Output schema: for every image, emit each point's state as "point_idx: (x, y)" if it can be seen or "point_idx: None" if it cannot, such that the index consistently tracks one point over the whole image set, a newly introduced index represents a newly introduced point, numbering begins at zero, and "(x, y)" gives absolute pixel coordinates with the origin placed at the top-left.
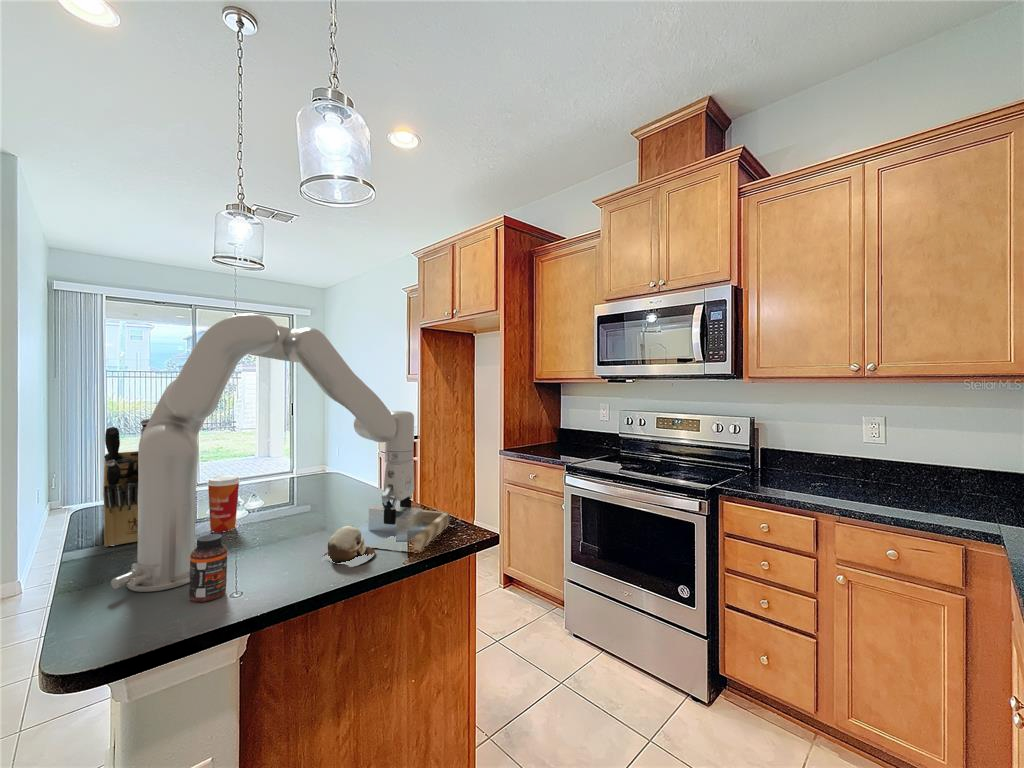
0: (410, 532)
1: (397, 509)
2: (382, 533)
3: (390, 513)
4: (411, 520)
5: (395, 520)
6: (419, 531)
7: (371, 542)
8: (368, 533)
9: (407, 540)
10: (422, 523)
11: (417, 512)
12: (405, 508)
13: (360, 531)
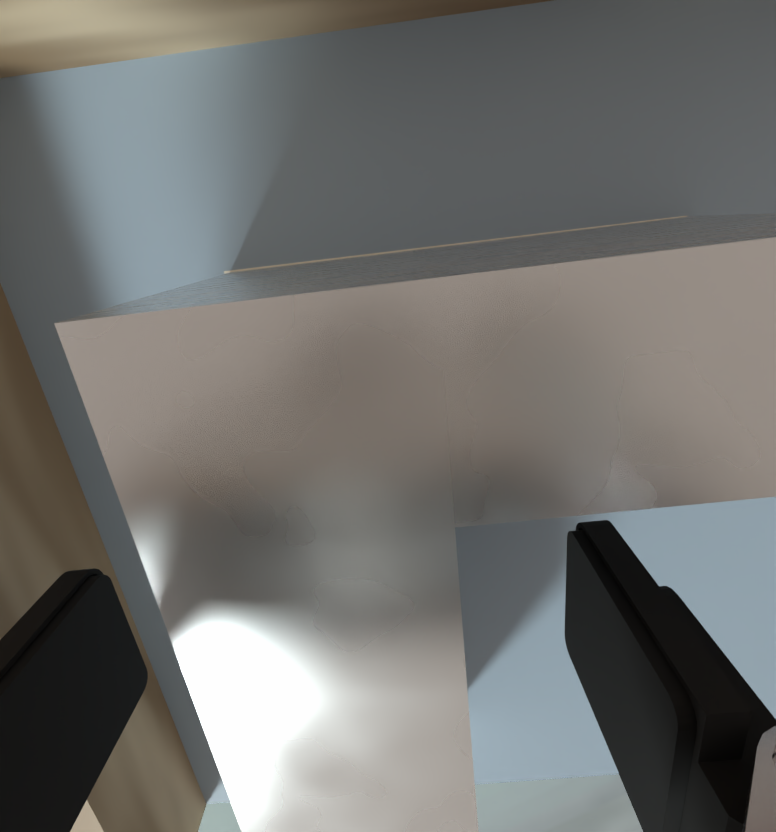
0: (647, 227)
1: (375, 719)
2: (484, 584)
3: (749, 695)
4: (735, 232)
5: (612, 547)
6: (315, 263)
7: (732, 547)
8: (522, 672)
9: (699, 216)
10: (35, 388)
11: (406, 281)
12: (256, 644)
13: (497, 736)
